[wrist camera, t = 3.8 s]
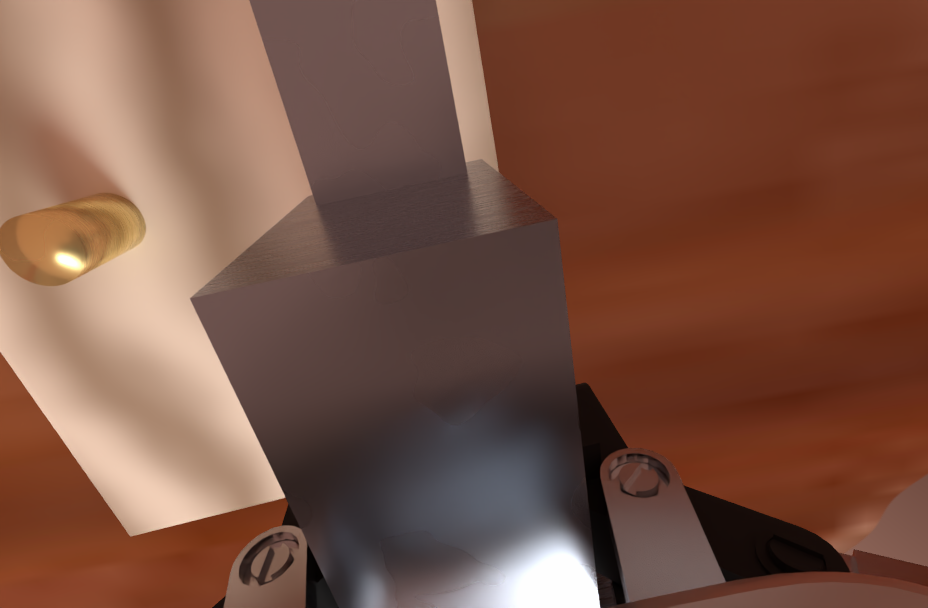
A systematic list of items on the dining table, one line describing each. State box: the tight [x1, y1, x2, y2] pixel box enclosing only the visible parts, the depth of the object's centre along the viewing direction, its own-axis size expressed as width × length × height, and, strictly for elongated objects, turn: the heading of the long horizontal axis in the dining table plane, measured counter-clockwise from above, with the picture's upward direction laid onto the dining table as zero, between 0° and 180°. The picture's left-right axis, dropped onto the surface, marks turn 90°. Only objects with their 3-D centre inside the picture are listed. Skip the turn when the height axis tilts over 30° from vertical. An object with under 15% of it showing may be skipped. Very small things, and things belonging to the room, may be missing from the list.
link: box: [190, 0, 615, 608], centre depth 10 cm, size 20×7×6 cm, turn 11°
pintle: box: [0, 193, 146, 286], centre depth 18 cm, size 2×2×6 cm
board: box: [0, 0, 499, 536], centre depth 20 cm, size 23×32×2 cm
